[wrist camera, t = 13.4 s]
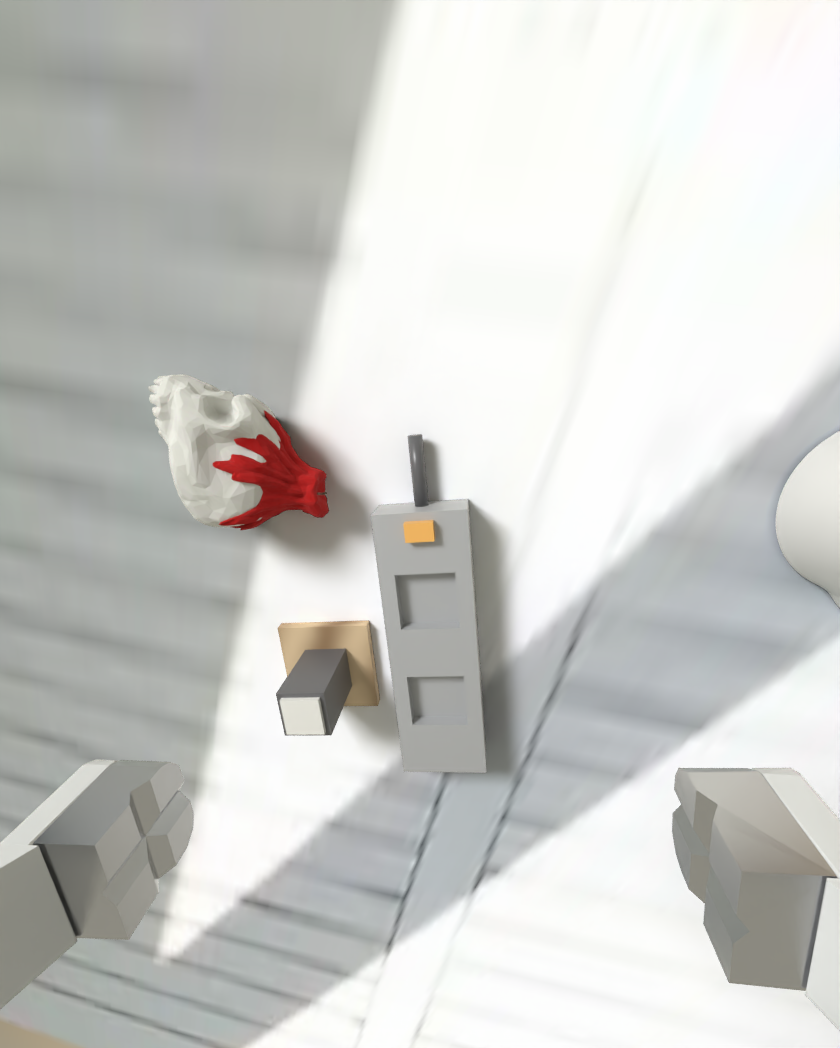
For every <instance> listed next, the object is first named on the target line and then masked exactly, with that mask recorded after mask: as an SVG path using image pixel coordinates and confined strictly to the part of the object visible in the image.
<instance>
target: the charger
mask: <svg viewBox="0 0 840 1048" xmlns="http://www.w3.org/2000/svg"><path fill="white" fill-rule="evenodd" d="M351 687H352V681H351V675H350V669H349V663H348V657H347V651H346V648H344V649H312V650H305V651H304V652H303V654H302V655H301V657H300V658H299V660H298V661H297V663H296V664H295V666H294V668H293V669H292V671H291V672H290V674H289V675H288V677H287V678H286V680H285V681H284V683H283V684H282V686H281V687H280V689H279V690H278V692H277V693H276V696H277V701H278V705H279V710H280V714H281V719H282V724H283V728H284V733H285V735H332V732H333V730H334V728H335V725H336V723H337V721H338V718H339V716H340V713H341V711H342V709H343V706H344V704H345V702H346V699H347V697H348V694H349V692H350V690H351Z"/></svg>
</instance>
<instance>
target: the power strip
mask: <svg viewBox="0 0 840 1048" xmlns="http://www.w3.org/2000/svg"><path fill="white" fill-rule="evenodd" d="M408 444H409V453H410V463H411V473H412V482H413V492H414V502H415V503H401V504H386V505H379V506H378V507H377V509H376V510H375V511H374V512H373V513H372V515H371V522H372V530H373V538H374V545H375V553H376V561H377V568H378V576H379V584H380V591H381V599H382V607H383V614H384V622H385V630H386V637H387V645H388V653H389V660H390V668H391V676H392V683H393V691H394V699H395V706H396V714H397V722H398V729H399V737H400V745H401V753H402V760H403V768H404V772H469V773H486V741H485V726H484V712H483V698H482V684H481V670H480V656H479V642H478V628H477V614H476V600H475V586H474V572H473V558H472V544H471V530H470V516H469V502H468V499H459V500H444V501H430V502H428V492H427V482H426V471H425V461H424V450H423V440H422V434H418V435H410V436H408Z"/></svg>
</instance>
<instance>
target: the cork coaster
mask: <svg viewBox="0 0 840 1048" xmlns="http://www.w3.org/2000/svg"><path fill="white" fill-rule="evenodd" d="M278 632H279V637H280V642H281V647H282V652H283V657H284V662H285V667H286V672H287V677H288V675H289V674H290V672H291V671H292V669H293V668H294V666H295V664H296V663H297V661H298V660H299V658H300V657H301V655H302V654H303V652H304V651H305V650H312V649H344V648H346V651H347V657H348V663H349V669H350V675H351V681H352V687H351V690H350V692H349V694H348V697H347V699H346V702H345V704H344V706H378V704H379V701H380V697H379V690H378V682H377V675H376V668H375V661H374V654H373V647H372V640H371V632H370V625H369V621H340V622H310V623H282V624H281V625H280V626H279V627H278Z"/></svg>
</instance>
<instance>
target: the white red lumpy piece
mask: <svg viewBox="0 0 840 1048" xmlns="http://www.w3.org/2000/svg"><path fill="white" fill-rule="evenodd" d="M154 384H156V385H151V386H150V387H148V389H149V390H150V391H151V392H153V393H156V394H151V395H150V399H149V400H150V402H151V403H153V404H155V405H156V407H153V408H152V411H153V415H155V416H156V418H157V419H156V420H155V425H156V426H157V427H158V428H159V429H160V430H159V434H160V435H161V437H162V438H164V440H165V441H166V443H167V445H168V446H169V462H170V467H171V472H172V476H173V480H174V484H175V487H176V489H177V492H178V495H179V497H180V498H181V500H182V502H183V503H184V505H185V507H186V508H187V509H188V510H189V512H190V513H191V514H192V516H193V517H194V518H195V519H196V520H198V521H199V522H201V523H203V524H205V525H208V526H212V527H233V528H241V530H246V529H251V528H255V527H257V526H259V525H261V524H262V523H263V522H265V521H267V520H268V519H270V518H271V517H274V516H276V515H278V514H280V513H282V512H283V511H286V510H303V512H305V513H308V514H311V515H313V516H315V517H320V518H323V517H324V516H325V515H326V514H327V513H328V511H329V509H328V505H327V498H326V496H325V495H324V494H327V493H326V492H325V479H326V473H325V472H324V471H322V470H320V469H317V468H313V467H310V466H309V465H308V464H306V463H305V462H304V461H302V460H301V459H300V458H299V457H298V455H297V453H296V452H295V450H294V449H293V447H292V445H291V439H290V436H289V435H288V434H287V432H286V431H285V430H284V429H283V428H282V427H281V424H280V423H279V421H278V420H276V418H275V416H274V414H273V413H272V411H271V410H270V409H269V408H268V407H267V406H266V405H265V404H263V403H262V402H260V401H259V400H257V399H256V398H254V397H253V396H251V395H249V394H245V395H237V396H234V395H233V393H232V392H230V391H220V390H218V389H217V388H216V387H214V386H212V385H209V384H207V383H205V382H202V381H200V380H198V379H196V378H193V377H191V376H188V375H184V374H183V375H169V376H158V379H156V380H154Z"/></svg>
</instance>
